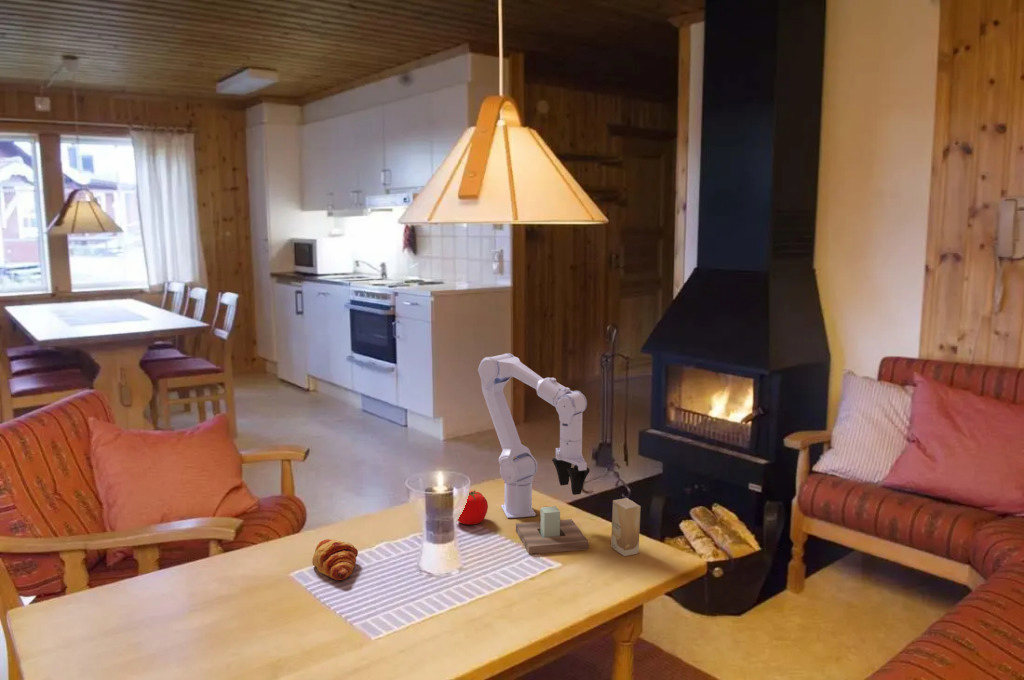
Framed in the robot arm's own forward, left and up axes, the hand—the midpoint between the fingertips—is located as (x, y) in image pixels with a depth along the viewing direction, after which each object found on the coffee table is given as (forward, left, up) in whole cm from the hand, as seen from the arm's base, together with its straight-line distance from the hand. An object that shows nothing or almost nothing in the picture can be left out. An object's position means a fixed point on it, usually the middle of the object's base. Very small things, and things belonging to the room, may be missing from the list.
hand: (570, 489), depth 204 cm
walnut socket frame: (+7, -7, -10) cm, 14 cm away
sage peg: (+7, -7, -10) cm, 14 cm away
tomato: (-9, -25, -11) cm, 29 cm away
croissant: (+12, -60, -11) cm, 62 cm away
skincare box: (+17, +9, -11) cm, 22 cm away
